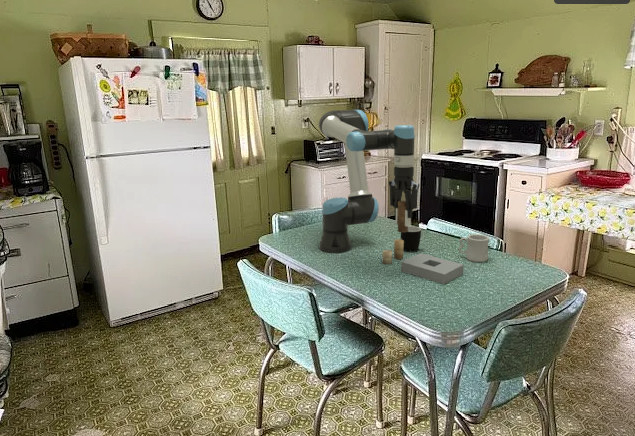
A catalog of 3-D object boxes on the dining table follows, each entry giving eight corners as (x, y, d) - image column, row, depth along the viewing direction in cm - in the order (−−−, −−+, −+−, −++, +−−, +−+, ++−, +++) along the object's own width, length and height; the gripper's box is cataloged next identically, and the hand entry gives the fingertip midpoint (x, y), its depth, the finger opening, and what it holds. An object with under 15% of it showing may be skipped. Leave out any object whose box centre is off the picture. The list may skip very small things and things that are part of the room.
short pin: (380, 262, 197) (380, 251, 195) (386, 260, 199) (386, 249, 198) (388, 264, 194) (388, 253, 193) (393, 262, 197) (394, 251, 195)
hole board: (400, 270, 187) (401, 261, 186) (420, 262, 196) (420, 253, 195) (444, 284, 173) (444, 274, 172) (463, 274, 182) (463, 264, 181)
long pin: (395, 231, 183) (395, 201, 180) (401, 229, 185) (402, 200, 183) (403, 232, 180) (404, 202, 177) (409, 230, 183) (410, 201, 180)
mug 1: (424, 251, 210) (425, 229, 207) (408, 254, 206) (408, 232, 204) (408, 243, 220) (409, 223, 218) (393, 246, 217) (393, 226, 214)
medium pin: (392, 257, 202) (392, 240, 200) (397, 255, 205) (398, 238, 203) (399, 260, 199) (400, 242, 197) (405, 257, 202) (405, 240, 200)
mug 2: (488, 257, 200) (490, 235, 198) (486, 263, 193) (488, 241, 190) (459, 253, 206) (460, 232, 203) (456, 260, 198) (457, 238, 195)
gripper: (380, 165, 181) (380, 223, 186) (416, 168, 168) (414, 230, 174) (392, 163, 185) (392, 219, 191) (428, 166, 173) (426, 226, 178)
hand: (403, 224), depth 182 cm, fingers closed on long pin, 4 cm apart
